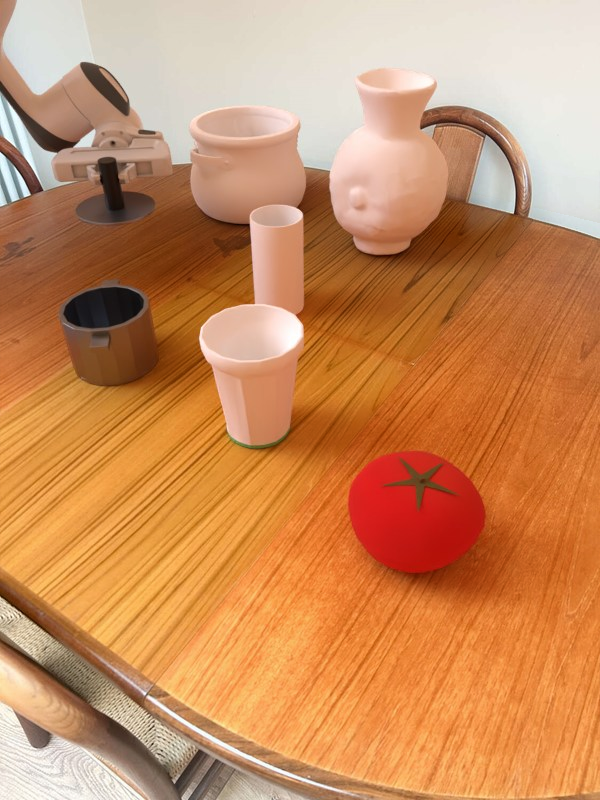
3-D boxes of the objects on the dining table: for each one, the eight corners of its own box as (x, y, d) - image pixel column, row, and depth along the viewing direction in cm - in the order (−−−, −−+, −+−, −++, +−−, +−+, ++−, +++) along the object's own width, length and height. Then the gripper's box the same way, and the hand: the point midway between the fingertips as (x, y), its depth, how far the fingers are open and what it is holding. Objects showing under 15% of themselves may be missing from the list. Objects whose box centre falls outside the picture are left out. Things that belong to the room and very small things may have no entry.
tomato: (324, 553, 71) (325, 488, 64) (377, 479, 80) (383, 414, 73) (448, 614, 65) (463, 549, 59) (491, 527, 74) (509, 461, 67)
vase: (412, 279, 117) (433, 101, 97) (309, 251, 125) (309, 82, 106) (452, 239, 129) (476, 73, 109) (355, 215, 137) (363, 58, 118)
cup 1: (274, 288, 115) (271, 200, 105) (313, 302, 111) (313, 212, 101) (245, 308, 110) (238, 218, 100) (284, 324, 106) (281, 232, 96)
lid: (71, 232, 107) (58, 177, 101) (81, 199, 117) (70, 147, 112) (154, 227, 109) (146, 172, 103) (157, 195, 119) (150, 144, 113)
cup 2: (294, 391, 93) (292, 297, 83) (314, 451, 83) (315, 354, 74) (206, 404, 91) (194, 309, 81) (217, 467, 81) (204, 369, 72)
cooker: (66, 401, 92) (49, 346, 85) (82, 331, 105) (68, 278, 99) (156, 393, 93) (145, 338, 87) (160, 324, 106) (151, 272, 100)
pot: (260, 174, 156) (256, 95, 145) (332, 204, 142) (334, 120, 131) (168, 205, 143) (155, 121, 131) (237, 242, 129) (230, 152, 117)
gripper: (53, 136, 116) (40, 164, 105) (170, 131, 118) (168, 158, 107) (62, 171, 120) (50, 202, 109) (175, 166, 122) (173, 195, 111)
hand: (109, 180), depth 108 cm, fingers closed on lid, 3 cm apart
